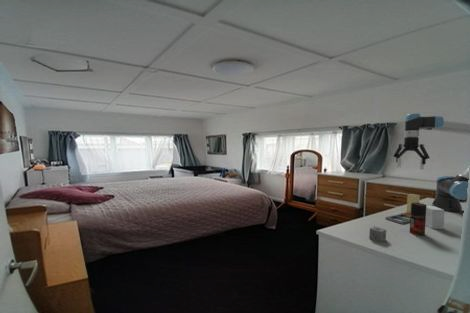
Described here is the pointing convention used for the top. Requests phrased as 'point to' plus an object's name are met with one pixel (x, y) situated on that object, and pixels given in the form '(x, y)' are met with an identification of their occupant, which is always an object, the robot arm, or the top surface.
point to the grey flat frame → (399, 218)
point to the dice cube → (377, 234)
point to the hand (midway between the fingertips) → (409, 168)
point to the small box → (434, 217)
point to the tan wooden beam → (411, 201)
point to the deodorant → (418, 219)
